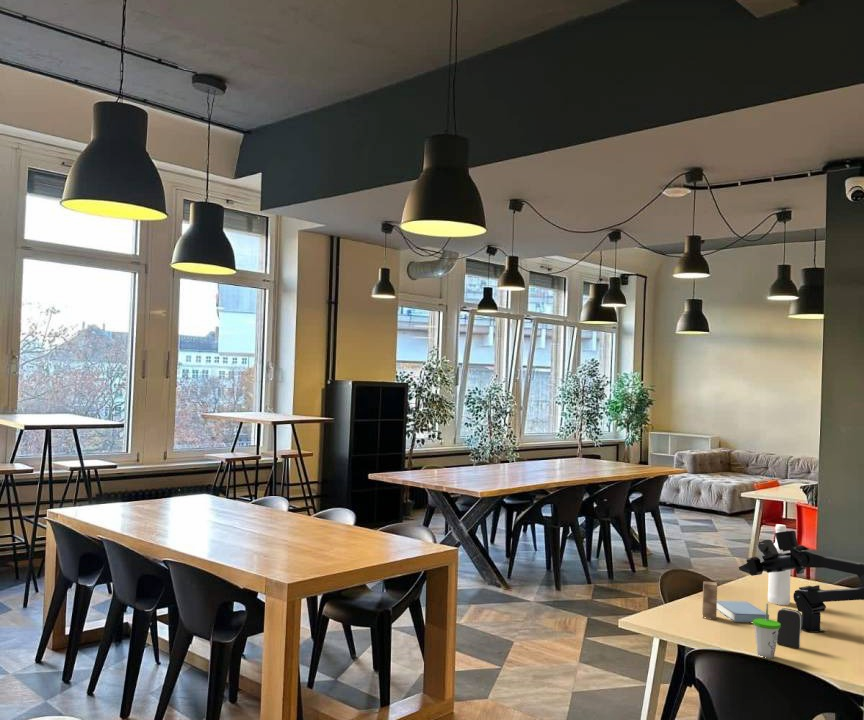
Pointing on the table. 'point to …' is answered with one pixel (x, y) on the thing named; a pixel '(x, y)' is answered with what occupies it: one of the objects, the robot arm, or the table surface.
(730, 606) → the book
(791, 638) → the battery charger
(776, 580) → the bottle
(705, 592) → the brown wooden block
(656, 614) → the table surface
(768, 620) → the cup
